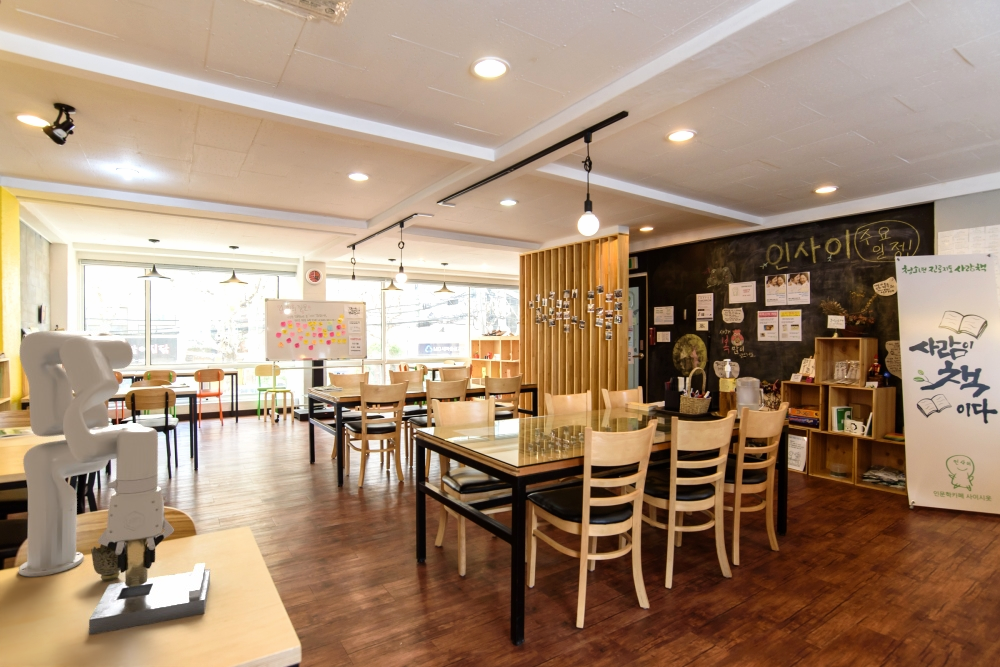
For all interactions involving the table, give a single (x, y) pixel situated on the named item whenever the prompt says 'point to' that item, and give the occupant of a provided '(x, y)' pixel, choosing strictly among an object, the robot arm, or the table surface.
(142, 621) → the plate
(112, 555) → the cup
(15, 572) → the table surface
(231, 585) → the table surface
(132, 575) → the brass bushing
